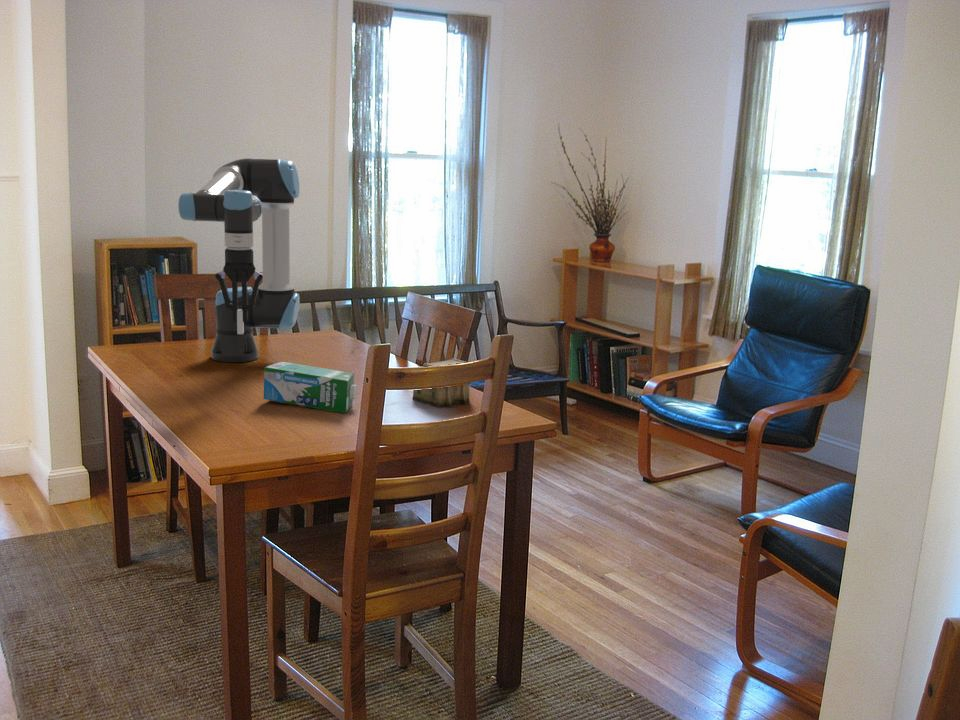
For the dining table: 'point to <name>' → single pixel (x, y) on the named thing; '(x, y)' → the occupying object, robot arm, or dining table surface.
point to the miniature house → (443, 391)
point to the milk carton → (309, 386)
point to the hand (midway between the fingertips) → (240, 333)
